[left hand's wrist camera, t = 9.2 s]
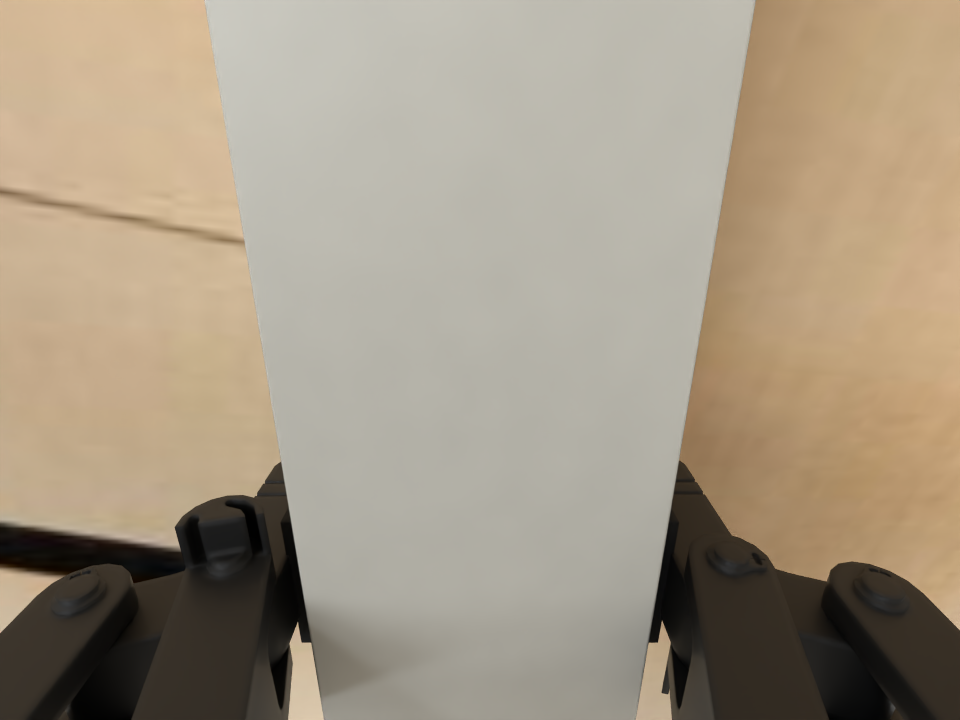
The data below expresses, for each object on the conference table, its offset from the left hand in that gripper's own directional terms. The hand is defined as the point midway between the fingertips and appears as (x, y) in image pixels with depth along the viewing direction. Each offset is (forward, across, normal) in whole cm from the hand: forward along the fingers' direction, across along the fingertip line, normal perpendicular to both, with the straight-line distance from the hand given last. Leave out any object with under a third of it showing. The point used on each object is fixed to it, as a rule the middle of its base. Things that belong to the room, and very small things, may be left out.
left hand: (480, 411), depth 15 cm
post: (+1, 0, -22) cm, 23 cm away
